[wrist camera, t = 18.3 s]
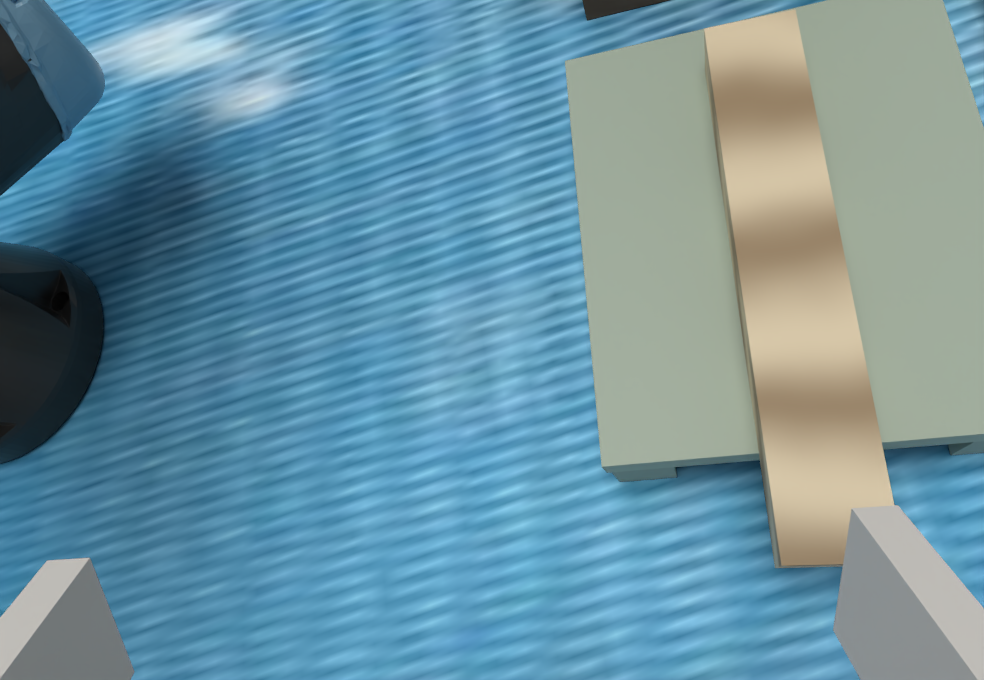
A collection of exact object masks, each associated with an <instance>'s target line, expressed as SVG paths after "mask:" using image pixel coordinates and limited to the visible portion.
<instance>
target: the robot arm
mask: <svg viewBox="0 0 984 680" xmlns="http://www.w3.org/2000/svg"><path fill="white" fill-rule="evenodd" d="M104 87H105V80H104V74H103V72H102V69H101V67H100V66H99V64H98V62H97V61H96V60H95V58H94V57H93V56H92V55H91V53H90V52H89V51H88V50H87V49H86V47H85V46H84V45H83V44H82V43H81V42H80V41H79V39H78V38H77V37H76V36H75V35H74V34H73V32H72V31H71V30H70V29H69V28H68V27H67V26H66V25H65V23H64V22H63V21H62V20H61V19H60V18H59V17H58V15H57V14H56V13H55V12H54V11H53V10H52V9H51V8H50V6H49V5H48V4H47V3H46V2H45V1H44V0H0V196H1V195H2V194H3V193H4V192H5V191H7V190H8V189H9V188H10V187H11V186H12V185H13V184H15V183H16V182H17V181H18V180H19V179H20V178H21V177H23V176H24V175H25V174H26V173H27V172H28V171H30V170H31V169H32V168H33V167H34V166H35V165H36V164H38V163H39V162H40V161H41V160H42V159H43V158H44V157H46V156H47V155H48V154H49V153H50V152H51V151H52V150H54V149H55V148H56V147H57V146H58V145H59V144H60V143H62V142H63V141H66V140H67V139H69V137H70V136H71V134H72V129H73V128H74V127H75V126H76V125H77V124H78V123H79V122H80V121H81V120H82V119H83V118H84V117H85V116H86V115H87V114H88V113H89V112H90V110H91V109H92V108H93V107H94V106H95V105H96V104H97V103H98V102H99V101H100V99H101V97H102V95H103V92H104ZM102 338H103V313H102V307H101V302H100V298H99V296H98V293H97V291H96V289H95V286H94V285H93V283H92V281H91V280H90V279H89V277H88V276H87V275H86V274H85V273H84V272H83V271H82V270H81V269H79V268H78V267H77V266H75V265H73V264H71V263H69V262H67V261H65V260H63V259H61V258H60V257H58V256H56V255H54V254H52V253H50V252H47V251H45V250H42V249H38V248H35V247H30V246H24V245H18V244H11V243H4V242H0V463H4V462H7V461H10V460H13V459H16V458H18V457H20V456H22V455H24V454H26V453H28V452H29V451H31V450H33V449H34V448H36V447H37V446H38V445H40V444H41V443H42V442H44V441H45V440H46V439H47V438H49V437H50V436H51V435H52V434H53V433H54V432H55V431H56V430H57V429H58V428H59V427H60V426H61V425H62V424H63V423H64V421H65V420H66V419H67V418H68V417H69V415H70V414H71V413H72V411H73V410H74V409H75V407H76V406H77V404H78V403H79V401H80V400H81V398H82V396H83V394H84V393H85V391H86V389H87V387H88V385H89V383H90V381H91V378H92V376H93V373H94V371H95V368H96V365H97V362H98V358H99V354H100V350H101V345H102ZM833 631H834V633H835V634H836V636H837V638H838V640H839V642H840V643H841V645H842V647H843V649H844V650H845V652H846V654H847V656H848V658H849V659H850V661H851V663H852V665H853V667H854V668H855V670H856V672H857V674H858V676H859V677H860V679H861V680H984V608H983V607H982V606H981V605H980V603H979V602H978V601H977V600H976V599H975V597H974V596H973V595H972V594H971V593H970V591H969V590H968V589H967V588H966V587H965V585H964V584H963V583H962V582H961V581H960V579H959V578H958V577H957V576H956V575H955V573H954V572H953V571H952V570H951V569H950V567H949V566H948V565H947V564H946V563H945V561H944V560H943V559H942V558H941V557H940V555H939V554H938V553H937V552H936V551H935V549H934V548H933V547H932V546H931V545H930V543H929V542H928V541H927V540H926V539H925V537H924V536H923V535H922V534H921V533H920V531H919V530H918V529H917V528H916V527H915V525H914V524H913V523H912V522H911V521H910V519H909V518H908V517H907V516H906V515H905V513H904V512H903V511H902V510H901V509H900V507H899V506H898V505H894V506H879V507H863V508H852V509H851V516H850V522H849V529H848V535H847V542H846V549H845V555H844V562H843V568H842V575H841V581H840V588H839V595H838V601H837V608H836V614H835V621H834V628H833ZM133 674H134V669H133V667H132V664H131V662H130V659H129V657H128V654H127V651H126V649H125V646H124V644H123V641H122V639H121V636H120V633H119V631H118V628H117V626H116V623H115V621H114V618H113V616H112V613H111V610H110V608H109V605H108V603H107V600H106V598H105V595H104V592H103V590H102V587H101V585H100V582H99V580H98V577H97V575H96V572H95V569H94V567H93V564H92V562H91V559H90V558H78V559H63V560H47V561H46V562H45V564H44V565H43V566H42V567H41V569H40V570H39V571H38V572H37V573H36V575H35V576H34V577H33V578H32V580H31V581H30V582H29V583H28V584H27V586H26V587H25V588H24V589H23V591H22V592H21V593H20V594H19V595H18V597H17V598H16V599H15V600H14V602H13V603H12V604H11V605H10V606H9V608H8V609H7V610H6V611H5V613H4V614H3V615H2V616H1V617H0V680H130V679H131V677H132V675H133Z"/></svg>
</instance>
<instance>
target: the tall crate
mask: <svg viewBox="0 0 984 680" xmlns="http://www.w3.org/2000/svg"><path fill="white" fill-rule="evenodd" d="M664 1H668V0H583V5H584V9H585V14H586V18H587V20H590V19H594V18H598V17H602V16H606V15H610V14H615V13H619V12H623V11H627V10H631V9H635V8H639V7H643V6H647V5H651V4H656V3H660V2H664Z"/></svg>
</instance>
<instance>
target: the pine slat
mask: <svg viewBox="0 0 984 680" xmlns="http://www.w3.org/2000/svg"><path fill="white" fill-rule="evenodd" d="M704 51H705V75H706V82H707V89H708V96H709V103H710V110H711V118H712V125H713V132H714V139H715V146H716V153H717V160H718V167H719V174H720V181H721V188H722V196H723V203H724V210H725V217H726V224H727V231H728V238H729V245H730V252H731V259H732V266H733V274H734V281H735V288H736V295H737V302H738V309H739V316H740V323H741V330H742V337H743V344H744V351H745V359H746V366H747V373H748V380H749V387H750V394H751V401H752V408H753V415H754V422H755V429H756V437H757V444H758V451H759V458H760V465H761V472H762V479H763V486H764V493H765V500H766V507H767V514H768V522H769V529H770V536H771V543H772V550H773V557H774V564H775V568H800V567H840V566H843V562H844V555H845V549H846V542H847V535H848V529H849V522H850V516H851V509H852V508H863V507H879V506H894V501H893V496H892V491H891V486H890V481H889V476H888V471H887V466H886V461H885V456H884V451H883V446H882V441H881V436H880V431H879V426H878V421H877V416H876V411H875V406H874V401H873V396H872V391H871V386H870V381H869V376H868V371H867V366H866V361H865V356H864V351H863V346H862V341H861V335H860V330H859V325H858V320H857V315H856V310H855V305H854V300H853V295H852V290H851V285H850V280H849V275H848V270H847V265H846V260H845V255H844V250H843V245H842V240H841V235H840V230H839V225H838V220H837V215H836V210H835V205H834V200H833V195H832V190H831V185H830V180H829V175H828V170H827V165H826V160H825V155H824V150H823V145H822V140H821V135H820V130H819V125H818V120H817V115H816V110H815V105H814V100H813V95H812V90H811V85H810V80H809V75H808V70H807V65H806V59H805V54H804V49H803V44H802V39H801V34H800V29H799V24H798V19H797V14H796V9H794V10H789V11H785V12H780V13H775V14H770V15H766V16H761V17H756V18H752V19H747V20H742V21H738V22H733V23H728V24H723V25H719V26H714V27H709V28H705V29H704Z"/></svg>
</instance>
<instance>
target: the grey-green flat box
mask: <svg viewBox="0 0 984 680" xmlns="http://www.w3.org/2000/svg"><path fill="white" fill-rule="evenodd" d="M794 9H796V14H797V19H798V24H799V29H800V34H801V39H802V44H803V49H804V54H805V59H806V65H807V70H808V75H809V80H810V85H811V90H812V95H813V100H814V105H815V110H816V115H817V120H818V125H819V130H820V135H821V140H822V145H823V150H824V155H825V160H826V165H827V170H828V175H829V180H830V185H831V190H832V195H833V200H834V205H835V210H836V215H837V220H838V225H839V230H840V235H841V240H842V245H843V250H844V255H845V260H846V265H847V270H848V275H849V280H850V285H851V290H852V295H853V300H854V305H855V310H856V315H857V320H858V325H859V330H860V335H861V341H862V346H863V351H864V356H865V361H866V366H867V371H868V376H869V381H870V386H871V391H872V396H873V401H874V406H875V411H876V416H877V421H878V426H879V431H880V436H881V441H882V446H883V450H885V449H897V448H909V447H921V446H933V445H945V444H948V447H949V451H950V455H961V454H974V453H984V127H983V124H982V121H981V118H980V115H979V112H978V109H977V105H976V102H975V99H974V96H973V93H972V90H971V87H970V84H969V81H968V77H967V74H966V71H965V68H964V65H963V62H962V59H961V56H960V53H959V50H958V46H957V43H956V40H955V37H954V34H953V31H952V28H951V25H950V22H949V18H948V15H947V12H946V9H945V6H944V3H943V0H827V1H823V2H819V3H814V4H810V5H806V6H801V7H797V8H793V9H788V10H784V11H780V12H785V11H789V10H794ZM780 12H775V13H780ZM775 13H771V14H775ZM767 15H770V14H767ZM762 16H766V15H762ZM758 17H761V16H758ZM754 18H756V17H754ZM749 19H752V18H749ZM745 20H747V19H745ZM741 21H742V20H741ZM736 22H738V21H736ZM732 23H733V22H732ZM565 67H566V78H567V89H568V100H569V111H570V122H571V133H572V144H573V155H574V166H575V177H576V188H577V199H578V210H579V221H580V232H581V243H582V254H583V265H584V276H585V287H586V298H587V309H588V320H589V332H590V343H591V354H592V365H593V376H594V387H595V398H596V409H597V420H598V431H599V442H600V453H601V464H602V468H603V469H604V470H605V471H606V472H607V473H611V472H612V473H613V475H614V476H615V477H616V478H617V479H618V480H619V482H626V481H638V480H651V479H663V478H675V477H677V472H676V467H683V466H695V465H707V464H718V463H730V462H742V461H754V460H760V458H759V451H758V444H757V437H756V429H755V422H754V415H753V408H752V401H751V394H750V387H749V380H748V373H747V366H746V359H745V351H744V344H743V337H742V330H741V323H740V316H739V309H738V302H737V295H736V288H735V281H734V274H733V266H732V259H731V252H730V245H729V238H728V231H727V224H726V217H725V210H724V203H723V196H722V188H721V181H720V174H719V167H718V160H717V153H716V146H715V139H714V132H713V125H712V118H711V110H710V103H709V96H708V89H707V82H706V75H705V51H704V29H702V30H697V31H693V32H689V33H684V34H680V35H676V36H671V37H667V38H663V39H658V40H654V41H650V42H645V43H641V44H637V45H632V46H628V47H624V48H619V49H615V50H611V51H606V52H602V53H598V54H593V55H589V56H585V57H580V58H576V59H572V60H567V61H565Z"/></svg>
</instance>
